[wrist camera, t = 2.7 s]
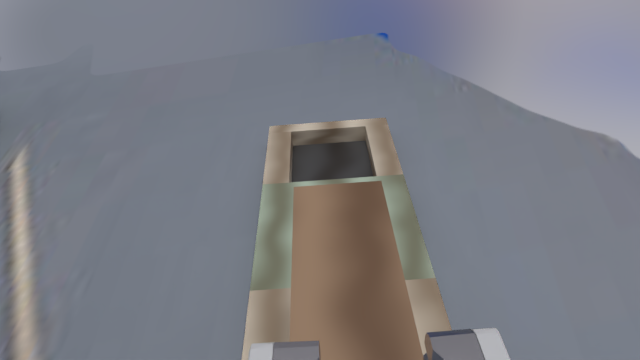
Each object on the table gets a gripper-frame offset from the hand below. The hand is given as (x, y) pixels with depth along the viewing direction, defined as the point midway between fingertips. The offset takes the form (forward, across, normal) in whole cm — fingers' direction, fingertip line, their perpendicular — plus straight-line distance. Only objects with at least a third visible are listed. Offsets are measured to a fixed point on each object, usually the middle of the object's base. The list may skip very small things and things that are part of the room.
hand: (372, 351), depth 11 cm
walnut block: (+13, 0, -22) cm, 25 cm away
